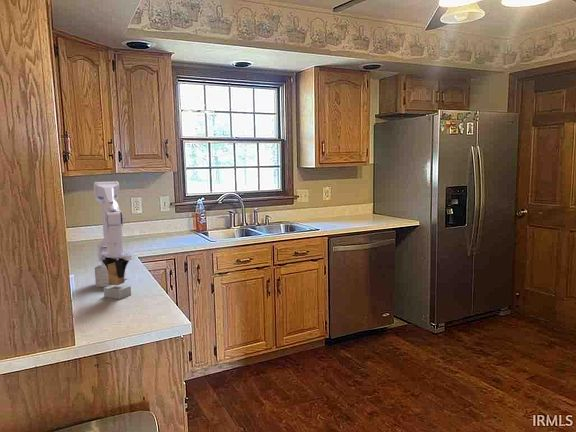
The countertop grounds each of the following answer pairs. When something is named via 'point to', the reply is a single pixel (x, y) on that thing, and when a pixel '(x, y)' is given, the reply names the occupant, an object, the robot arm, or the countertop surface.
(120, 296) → the light grey riser
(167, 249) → the countertop surface
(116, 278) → the oak column
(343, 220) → the countertop surface
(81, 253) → the countertop surface
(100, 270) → the medicine box
